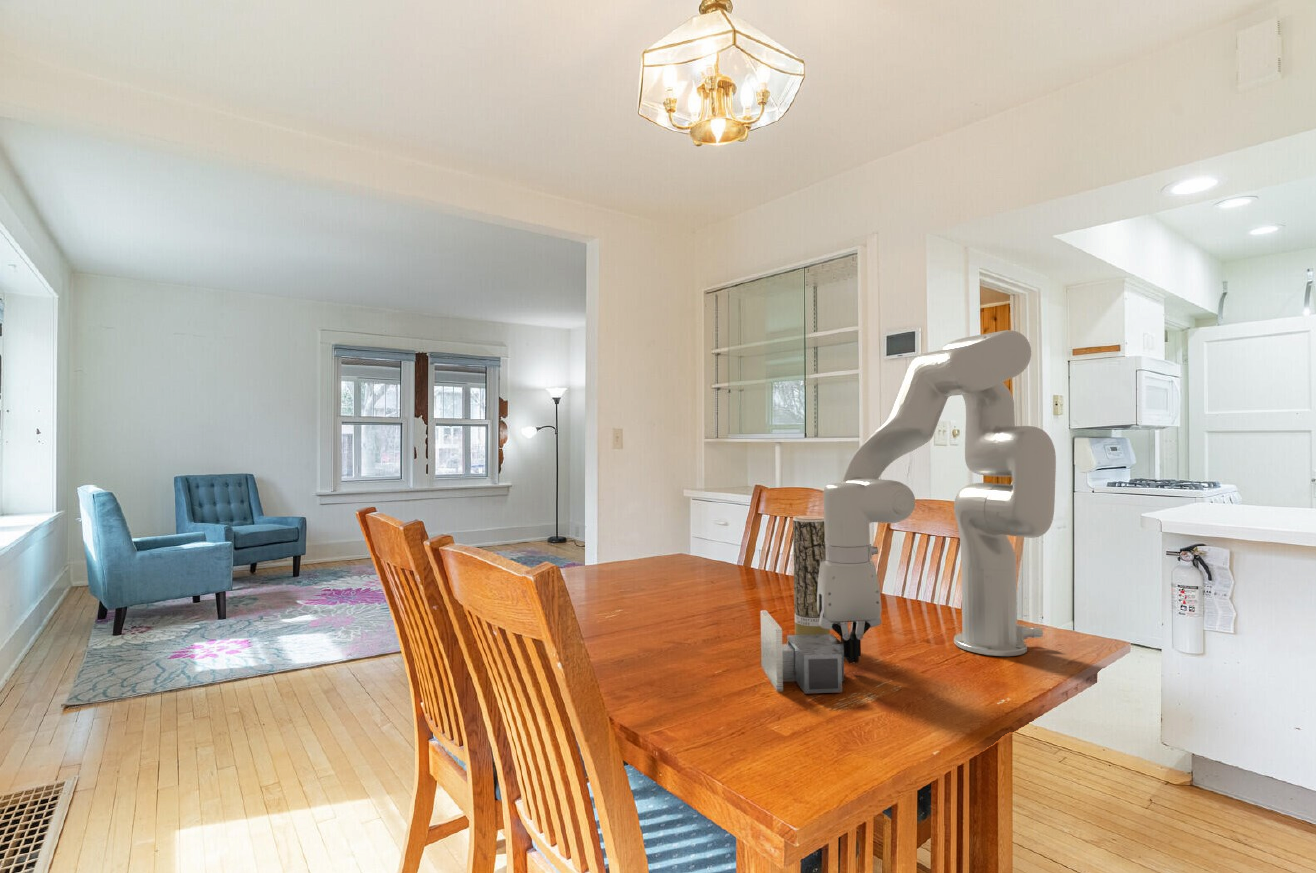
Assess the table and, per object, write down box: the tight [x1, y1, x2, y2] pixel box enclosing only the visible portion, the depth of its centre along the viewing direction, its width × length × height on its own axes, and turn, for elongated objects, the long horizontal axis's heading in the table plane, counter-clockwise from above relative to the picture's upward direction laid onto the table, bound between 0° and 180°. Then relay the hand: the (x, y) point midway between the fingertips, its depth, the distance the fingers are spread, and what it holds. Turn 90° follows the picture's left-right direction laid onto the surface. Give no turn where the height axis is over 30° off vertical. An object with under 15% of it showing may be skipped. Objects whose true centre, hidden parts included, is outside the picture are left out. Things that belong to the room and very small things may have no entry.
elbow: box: [786, 633, 845, 694], centre depth 109 cm, size 8×11×6 cm
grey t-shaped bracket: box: [760, 609, 796, 692], centre depth 112 cm, size 11×12×10 cm
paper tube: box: [792, 515, 831, 635], centre depth 131 cm, size 7×7×25 cm
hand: (851, 660), depth 113 cm, fingers closed
